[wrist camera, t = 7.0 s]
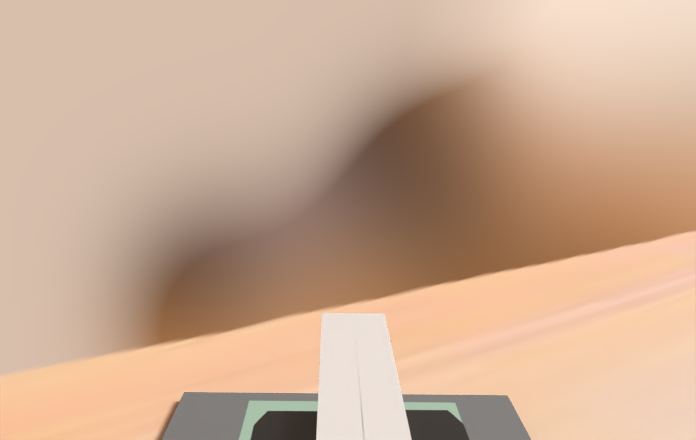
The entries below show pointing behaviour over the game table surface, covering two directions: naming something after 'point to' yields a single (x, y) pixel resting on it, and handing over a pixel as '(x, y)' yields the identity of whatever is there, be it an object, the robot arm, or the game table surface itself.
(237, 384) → the game table surface
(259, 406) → the tile
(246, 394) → the mat
